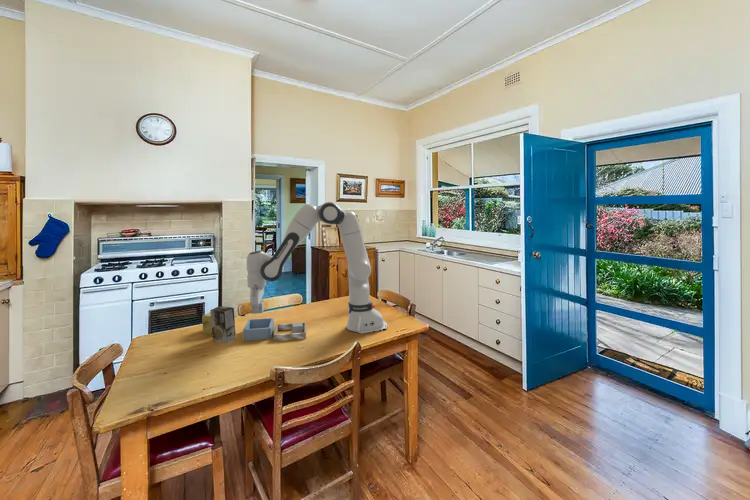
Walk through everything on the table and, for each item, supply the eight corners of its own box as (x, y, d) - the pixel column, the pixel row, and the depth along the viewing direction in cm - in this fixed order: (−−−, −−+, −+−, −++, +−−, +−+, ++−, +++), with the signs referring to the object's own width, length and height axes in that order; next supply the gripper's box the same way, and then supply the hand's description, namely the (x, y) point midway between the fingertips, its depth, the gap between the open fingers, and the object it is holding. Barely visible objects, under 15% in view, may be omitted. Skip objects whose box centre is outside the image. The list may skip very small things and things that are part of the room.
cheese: (220, 335, 165) (218, 317, 164) (201, 333, 167) (200, 315, 166) (232, 327, 175) (231, 310, 174) (215, 326, 177) (214, 308, 176)
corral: (306, 327, 176) (306, 322, 175) (306, 338, 161) (305, 333, 161) (276, 329, 173) (276, 324, 172) (273, 341, 158) (273, 335, 158)
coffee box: (236, 338, 162) (234, 307, 159) (226, 343, 156) (224, 311, 153) (222, 335, 165) (220, 305, 162) (212, 340, 159) (209, 309, 156)
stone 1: (263, 309, 168) (263, 300, 168) (262, 313, 163) (262, 303, 163) (253, 310, 167) (253, 301, 167) (252, 313, 162) (251, 304, 162)
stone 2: (302, 331, 171) (301, 322, 170) (303, 334, 166) (302, 325, 165) (292, 332, 169) (292, 323, 168) (293, 336, 165) (292, 327, 164)
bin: (274, 327, 176) (273, 317, 175) (270, 338, 161) (270, 328, 160) (249, 329, 173) (248, 319, 172) (243, 340, 159) (242, 330, 158)
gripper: (260, 287, 154) (261, 315, 156) (265, 277, 174) (267, 302, 176) (246, 288, 152) (247, 316, 154) (253, 278, 172) (254, 303, 174)
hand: (258, 308), depth 165 cm, fingers closed on stone 1, 5 cm apart
